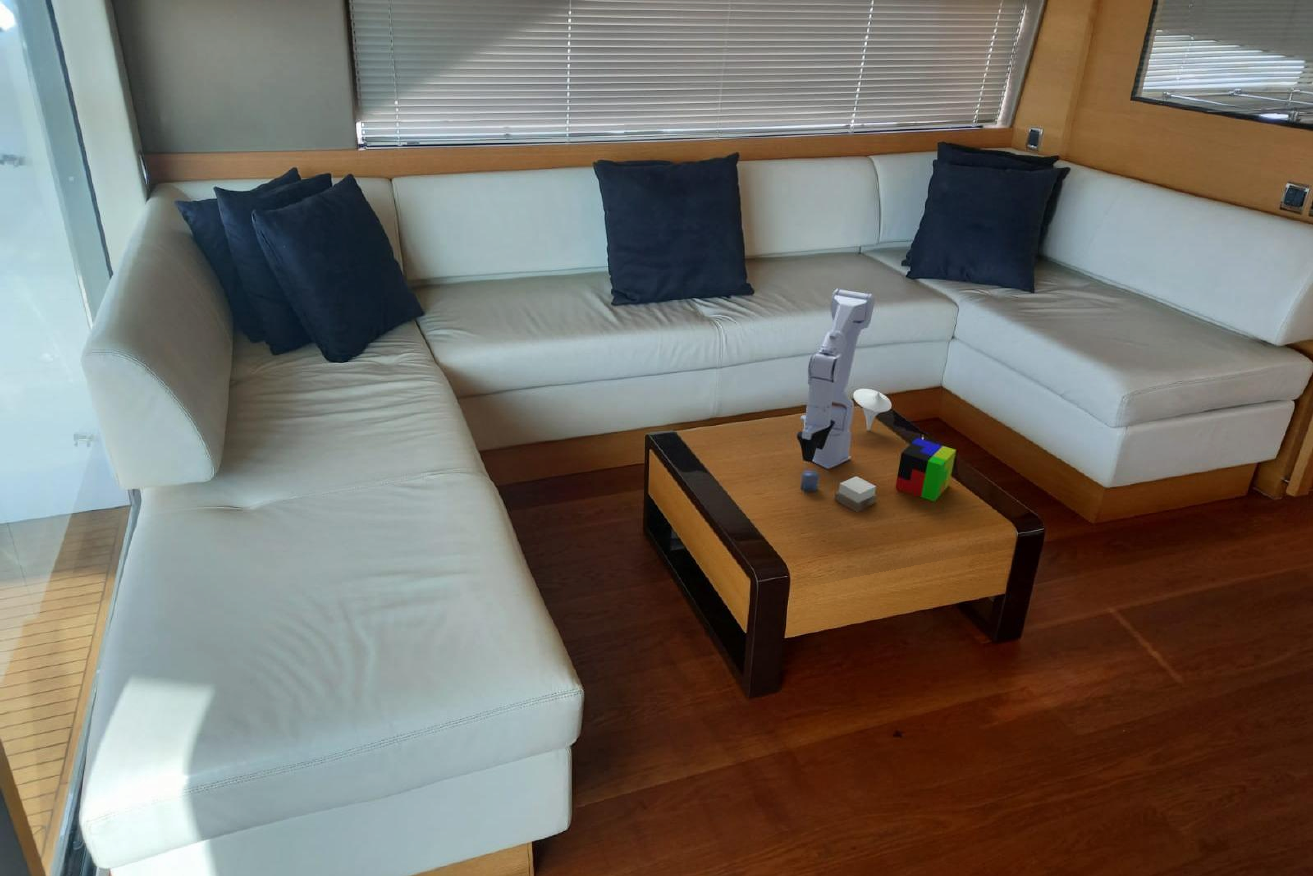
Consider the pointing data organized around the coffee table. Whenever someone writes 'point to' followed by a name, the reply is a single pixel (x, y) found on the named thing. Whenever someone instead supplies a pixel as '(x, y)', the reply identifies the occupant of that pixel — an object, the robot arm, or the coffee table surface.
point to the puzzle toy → (925, 469)
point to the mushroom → (871, 403)
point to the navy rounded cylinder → (809, 481)
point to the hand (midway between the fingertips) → (813, 454)
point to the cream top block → (857, 489)
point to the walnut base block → (853, 504)
